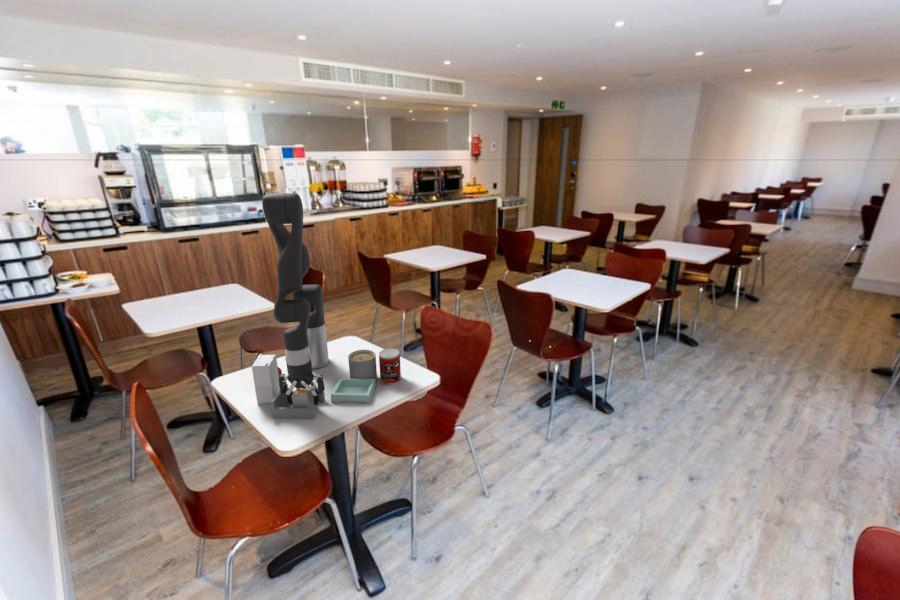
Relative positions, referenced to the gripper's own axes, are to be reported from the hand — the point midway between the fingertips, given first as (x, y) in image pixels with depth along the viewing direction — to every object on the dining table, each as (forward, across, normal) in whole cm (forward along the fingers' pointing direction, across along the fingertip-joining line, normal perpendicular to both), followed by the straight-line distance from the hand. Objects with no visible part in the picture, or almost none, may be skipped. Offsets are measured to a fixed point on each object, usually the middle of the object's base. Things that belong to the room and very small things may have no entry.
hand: (304, 403), depth 139 cm
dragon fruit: (+2, +19, -16) cm, 25 cm away
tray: (+2, -14, -10) cm, 17 cm away
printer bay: (+2, +2, 0) cm, 3 cm away
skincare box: (+2, +15, -6) cm, 16 cm away
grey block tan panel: (+2, 0, 0) cm, 2 cm away
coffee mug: (+2, -14, -22) cm, 26 cm away
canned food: (+2, -25, -21) cm, 33 cm away
